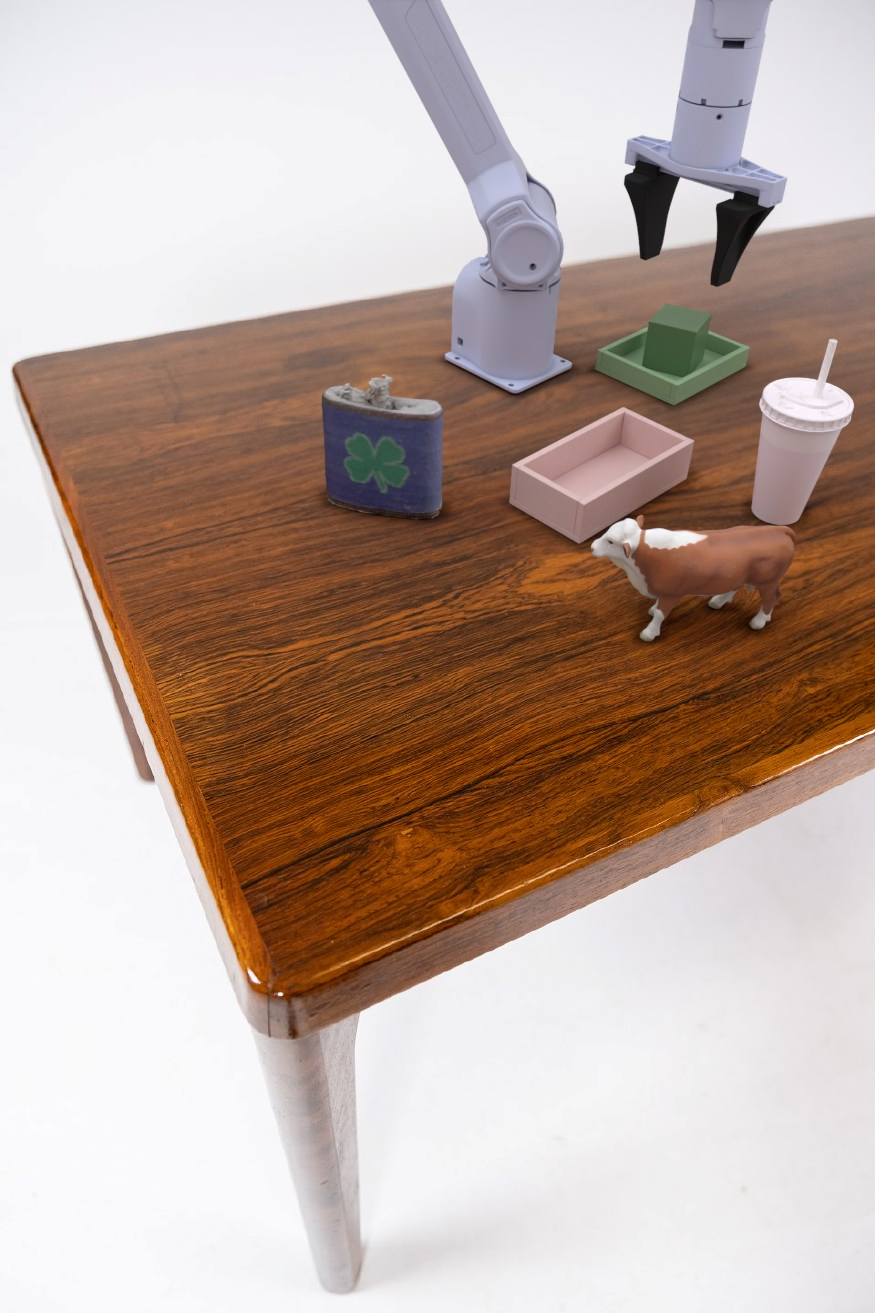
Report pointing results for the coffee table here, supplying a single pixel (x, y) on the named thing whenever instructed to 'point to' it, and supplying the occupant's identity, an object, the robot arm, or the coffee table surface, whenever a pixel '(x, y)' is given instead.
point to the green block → (676, 340)
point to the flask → (382, 451)
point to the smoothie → (796, 441)
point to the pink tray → (600, 473)
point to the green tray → (627, 367)
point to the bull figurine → (699, 564)
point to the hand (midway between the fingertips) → (684, 269)
